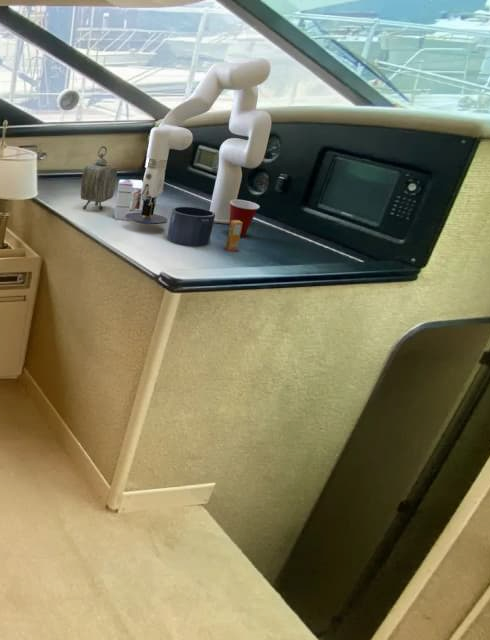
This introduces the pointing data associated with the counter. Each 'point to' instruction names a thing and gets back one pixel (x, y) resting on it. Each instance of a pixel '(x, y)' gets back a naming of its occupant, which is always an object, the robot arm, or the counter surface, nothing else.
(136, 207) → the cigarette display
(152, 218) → the lid
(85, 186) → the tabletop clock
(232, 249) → the supplement box
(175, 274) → the counter surface
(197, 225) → the pot
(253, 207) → the plastic cup
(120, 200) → the syrup box
